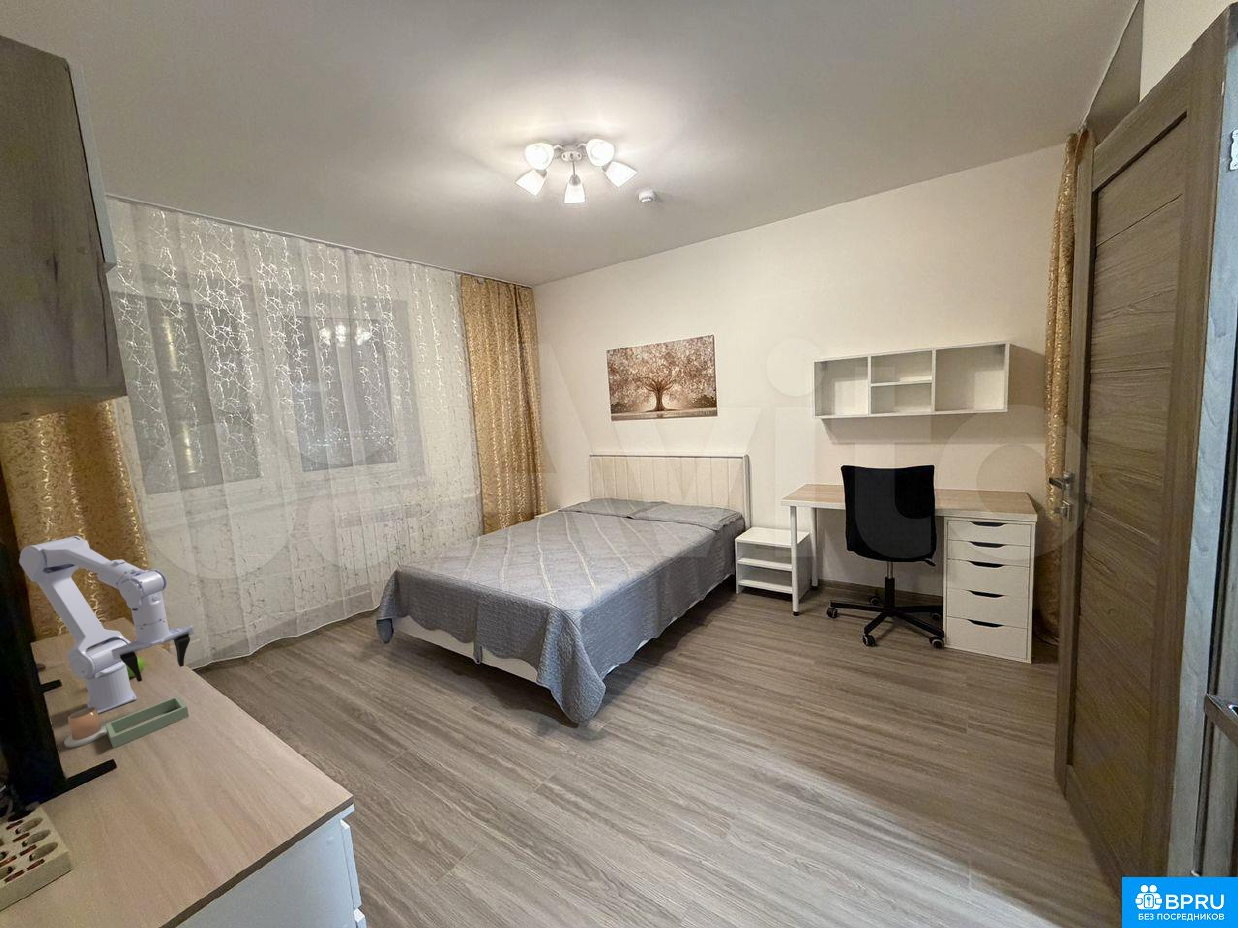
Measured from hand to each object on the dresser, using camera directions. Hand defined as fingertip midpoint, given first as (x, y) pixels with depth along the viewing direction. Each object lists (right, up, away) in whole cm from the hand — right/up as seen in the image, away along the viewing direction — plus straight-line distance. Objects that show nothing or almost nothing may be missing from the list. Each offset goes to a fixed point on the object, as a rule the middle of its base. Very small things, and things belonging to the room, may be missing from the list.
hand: (160, 672), depth 119 cm
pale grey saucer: (-7, -10, -10) cm, 16 cm away
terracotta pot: (-7, -9, -11) cm, 16 cm away
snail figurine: (-23, -8, +16) cm, 29 cm away
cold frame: (+4, -9, -7) cm, 12 cm away
